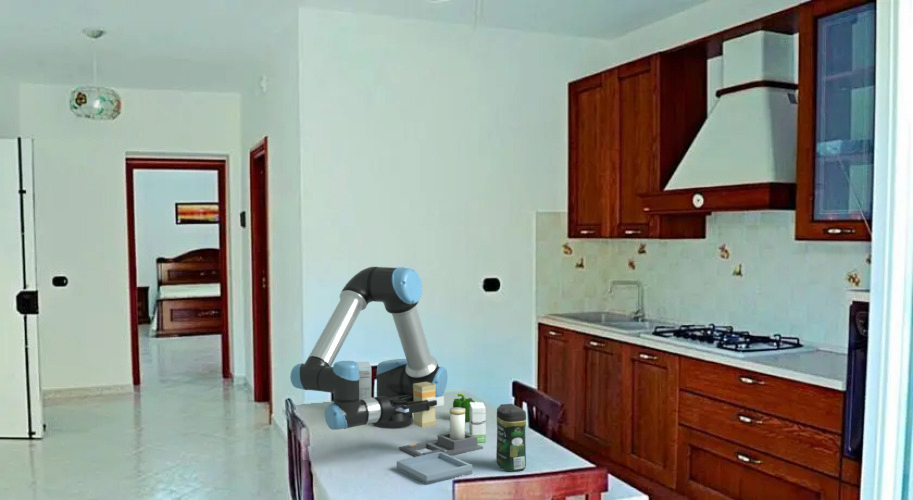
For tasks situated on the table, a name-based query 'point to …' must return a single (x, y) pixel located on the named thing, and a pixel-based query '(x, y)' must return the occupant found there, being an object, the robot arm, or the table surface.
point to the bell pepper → (463, 405)
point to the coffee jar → (511, 438)
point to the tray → (434, 467)
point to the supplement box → (364, 380)
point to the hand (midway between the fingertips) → (437, 398)
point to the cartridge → (457, 423)
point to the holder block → (444, 445)
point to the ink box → (478, 421)
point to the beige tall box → (420, 394)
